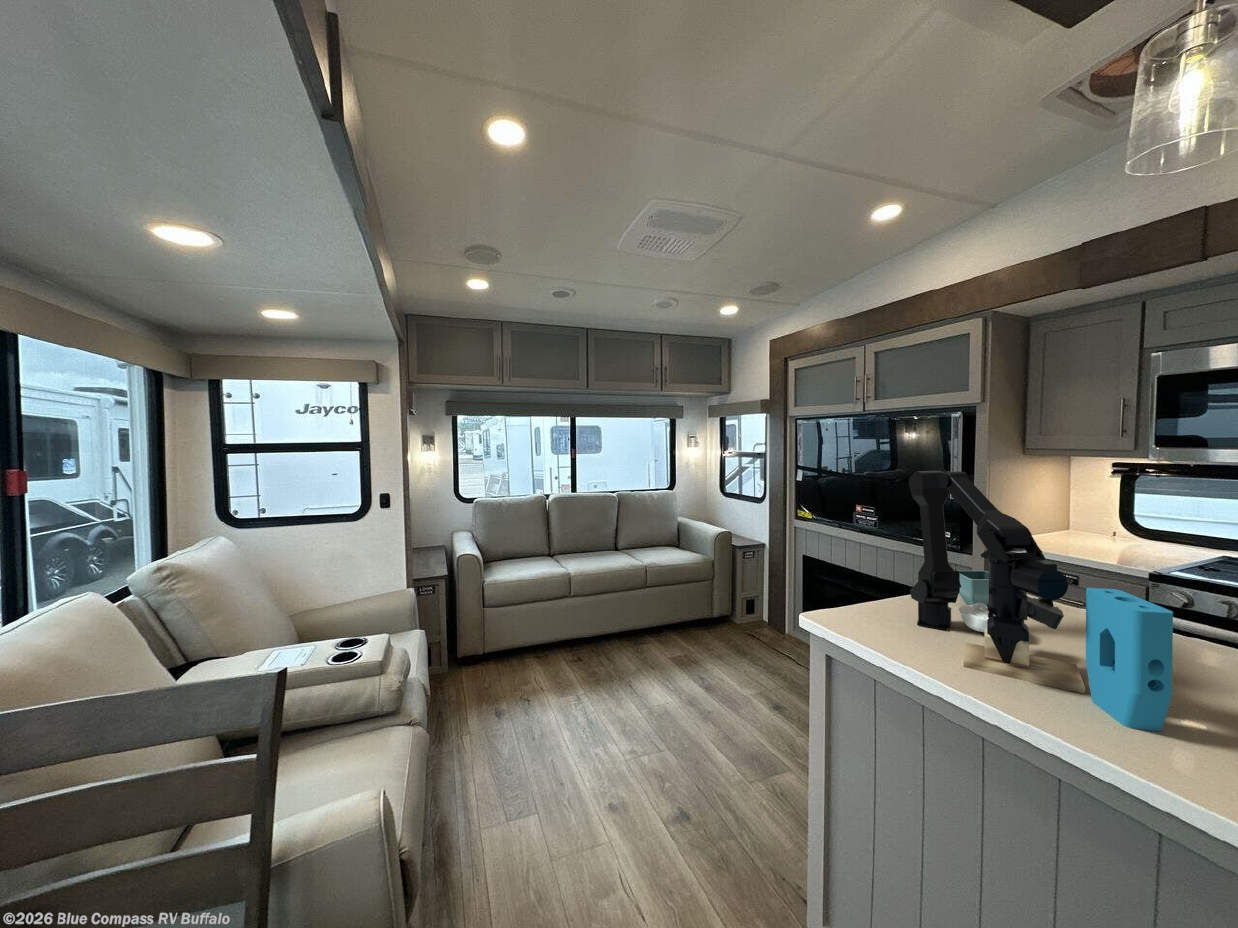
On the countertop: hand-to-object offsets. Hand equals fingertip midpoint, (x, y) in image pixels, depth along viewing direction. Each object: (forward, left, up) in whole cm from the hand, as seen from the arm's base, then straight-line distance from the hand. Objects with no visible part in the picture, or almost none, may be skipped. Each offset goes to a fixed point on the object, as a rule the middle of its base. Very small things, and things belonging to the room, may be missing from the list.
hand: (1006, 657), depth 96 cm
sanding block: (0, 0, 0) cm, 0 cm away
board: (+2, 0, -2) cm, 3 cm away
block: (+15, -11, -2) cm, 19 cm away
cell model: (-3, +18, -2) cm, 18 cm away
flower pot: (-5, +39, -2) cm, 39 cm away
